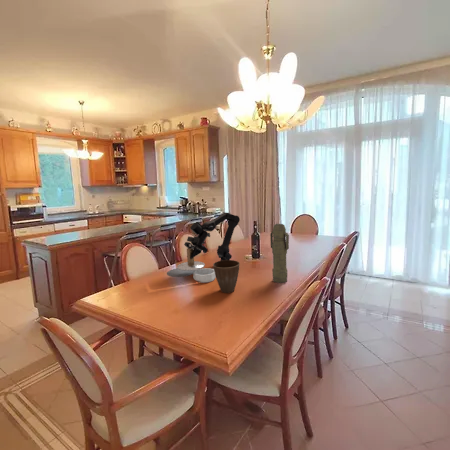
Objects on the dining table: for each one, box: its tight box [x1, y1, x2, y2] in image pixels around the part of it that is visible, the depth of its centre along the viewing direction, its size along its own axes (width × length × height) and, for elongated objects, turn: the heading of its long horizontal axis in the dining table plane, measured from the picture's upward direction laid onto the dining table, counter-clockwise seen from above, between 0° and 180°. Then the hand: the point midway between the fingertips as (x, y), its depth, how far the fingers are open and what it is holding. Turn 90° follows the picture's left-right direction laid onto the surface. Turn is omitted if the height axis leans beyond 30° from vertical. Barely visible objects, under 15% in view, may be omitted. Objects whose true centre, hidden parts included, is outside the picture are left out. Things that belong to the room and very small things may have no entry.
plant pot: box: [212, 259, 240, 294], centre depth 162 cm, size 15×15×16 cm
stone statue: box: [269, 223, 290, 284], centre depth 173 cm, size 9×12×35 cm
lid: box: [176, 248, 206, 271], centre depth 187 cm, size 18×18×12 cm
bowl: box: [192, 267, 216, 284], centre depth 184 cm, size 14×14×5 cm
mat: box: [166, 267, 195, 278], centre depth 197 cm, size 20×20×1 cm
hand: (188, 258), depth 186 cm, fingers closed on lid, 3 cm apart
